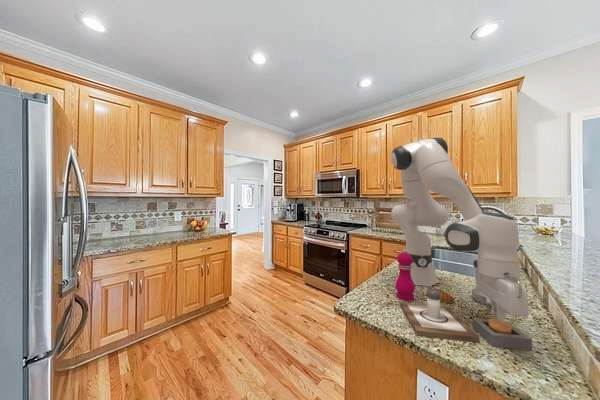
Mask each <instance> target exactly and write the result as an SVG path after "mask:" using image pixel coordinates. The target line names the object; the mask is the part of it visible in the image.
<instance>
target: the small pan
mask: <svg viewBox="0 0 600 400" xmlns="http://www.w3.org/2000/svg"><path fill="white" fill-rule="evenodd" d="M470 291H471V295H472V297H473V299H474V300H475V301H476V302H477V303H481V304H482V305H485V306H489V307H492V306H491V302H490V298H489V297H488V296H487V295H485V294H484V293H483V292H482V291H480V290H479V289H478V288H477V287H474V288H471V290H470Z"/></svg>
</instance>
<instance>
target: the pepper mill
mask: <svg viewBox="0 0 600 400" xmlns="http://www.w3.org/2000/svg"><path fill="white" fill-rule="evenodd" d="M401 251H402V252H400V253H398V254H397V256H396V260H397V263H398V271H400V272H399V277H398V276H397V279H396V281H395V289H396V290H397V291H396V298H398V299H399V300H402V301H405V302H412V301H414V299H415V298H414V292H415V291H416V287H415V286H416V285H414V283H413V281H412V278H411V273H410V271H411V269H412V268H411V267H412V266H411V264H412V263H413V258H412V256H411V255H410V254H408V253H407V250H406V248H404V249H402V250H401Z"/></svg>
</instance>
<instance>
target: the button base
mask: <svg viewBox="0 0 600 400" xmlns="http://www.w3.org/2000/svg"><path fill="white" fill-rule="evenodd" d="M504 321H505V320H504ZM505 322H507V323H509V322H508V321H505ZM509 324H510V325H511V330H512V334H504V333H495V332H494V331H492V330H491V329H490V328H489V319H486V318H485V319H484V318H476V317H475V318H472V330H474V331H475V332H477V333H478V334H479V335H480V336H481V338H483V339H484V340H485V341H486V342H487V343H488V344H489V345H490V346H492V347H495V348H503V349H510V350H511V349H512V350H518V351H519V350H520V351H522V350H523V351H529V352H532V351H533V338H531V337H529V336H528V335H527V334H525V333H523V332H522V331H521V330H520V329H518V328H516V327H515V325H512V324H511V323H509Z"/></svg>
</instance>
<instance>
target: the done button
mask: <svg viewBox="0 0 600 400" xmlns="http://www.w3.org/2000/svg"><path fill="white" fill-rule="evenodd" d="M488 320H489V328H490V329H491V330H492V331H494V332H495V333H504V334H512V330H511V325H512V324H511V323H509V322H508V321H507V322H508V323H507V322H505V320H500V319H498V318H489V319H488ZM510 324H511V325H510Z"/></svg>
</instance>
